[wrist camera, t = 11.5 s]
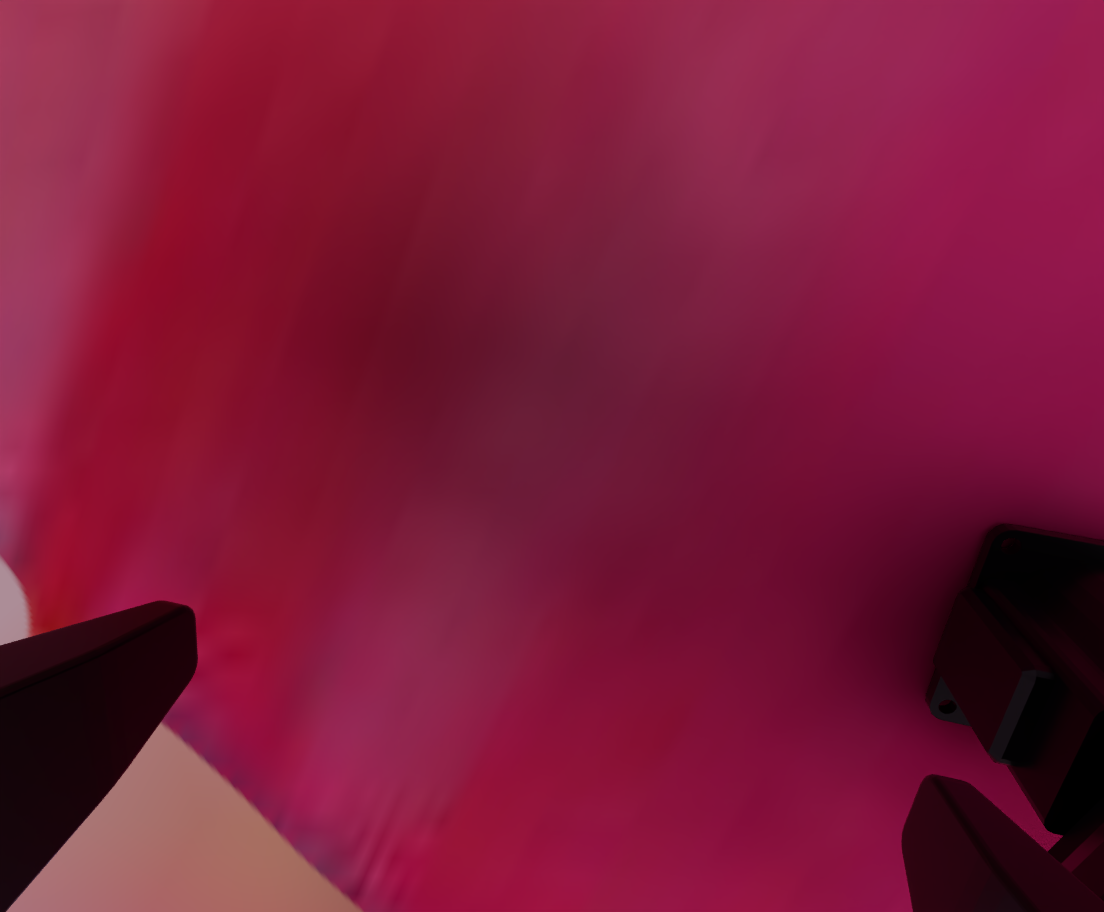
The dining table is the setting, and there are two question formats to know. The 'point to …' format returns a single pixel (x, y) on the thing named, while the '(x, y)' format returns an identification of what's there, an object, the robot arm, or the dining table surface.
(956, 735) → the dining table surface
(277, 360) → the dining table surface
